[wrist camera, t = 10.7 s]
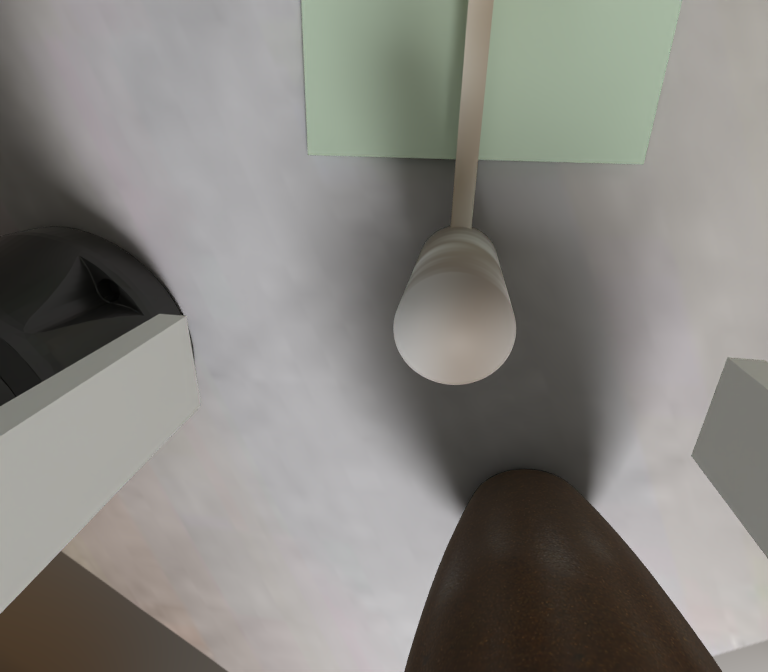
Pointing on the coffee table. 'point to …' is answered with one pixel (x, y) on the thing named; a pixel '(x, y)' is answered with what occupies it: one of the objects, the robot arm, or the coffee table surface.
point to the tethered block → (459, 257)
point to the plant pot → (547, 591)
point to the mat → (503, 79)
